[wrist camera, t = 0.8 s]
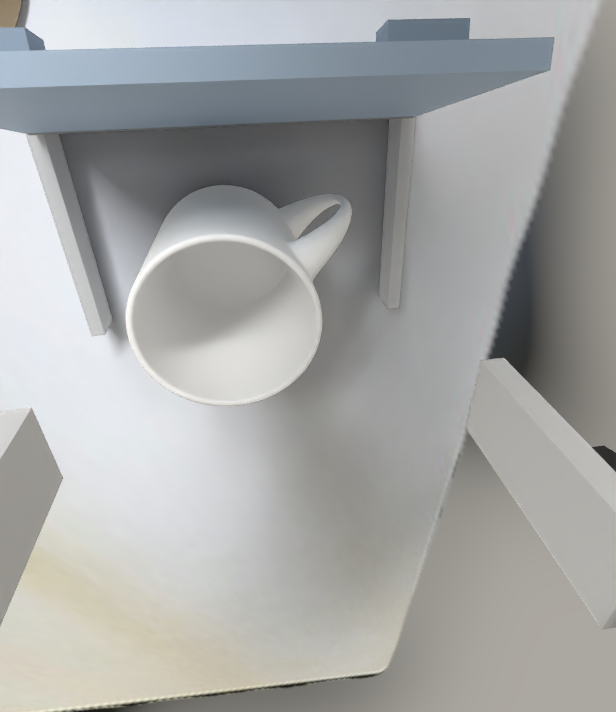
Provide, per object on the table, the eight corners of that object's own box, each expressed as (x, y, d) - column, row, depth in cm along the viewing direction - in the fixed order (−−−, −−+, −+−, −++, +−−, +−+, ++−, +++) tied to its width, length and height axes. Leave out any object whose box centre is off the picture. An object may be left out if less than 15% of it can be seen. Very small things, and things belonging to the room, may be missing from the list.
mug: (362, 238, 30) (418, 308, 21) (217, 333, 32) (211, 434, 23) (291, 114, 25) (324, 136, 16) (128, 234, 28) (79, 311, 19)
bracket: (32, 101, 23) (15, 102, 21) (405, 87, 25) (418, 88, 24) (100, 320, 30) (91, 336, 28) (389, 294, 32) (399, 308, 30)
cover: (33, 136, 22) (24, 102, 22) (410, 119, 24) (411, 88, 24) (-171, 96, 11) (-199, 26, 11) (549, 71, 13) (557, 11, 13)
